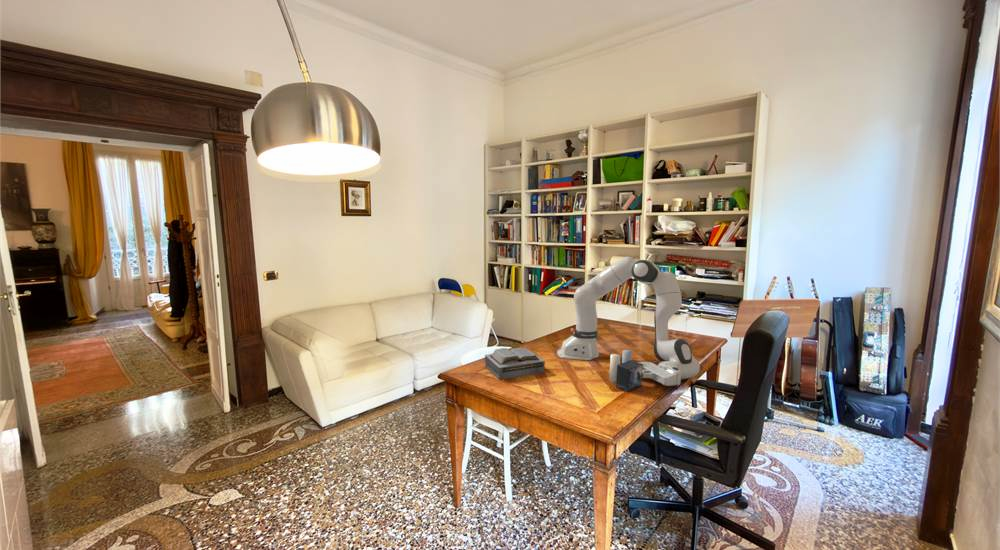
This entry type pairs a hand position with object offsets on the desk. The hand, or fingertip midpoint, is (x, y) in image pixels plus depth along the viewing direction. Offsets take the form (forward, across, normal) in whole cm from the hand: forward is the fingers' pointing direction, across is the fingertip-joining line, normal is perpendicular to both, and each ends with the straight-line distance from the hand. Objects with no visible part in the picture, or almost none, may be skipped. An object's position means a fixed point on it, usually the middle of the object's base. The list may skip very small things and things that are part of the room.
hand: (640, 374), depth 176 cm
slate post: (-1, -12, +5) cm, 13 cm away
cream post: (+8, -8, +5) cm, 13 cm away
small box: (+6, 0, +5) cm, 8 cm away
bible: (+46, -36, +6) cm, 59 cm away
